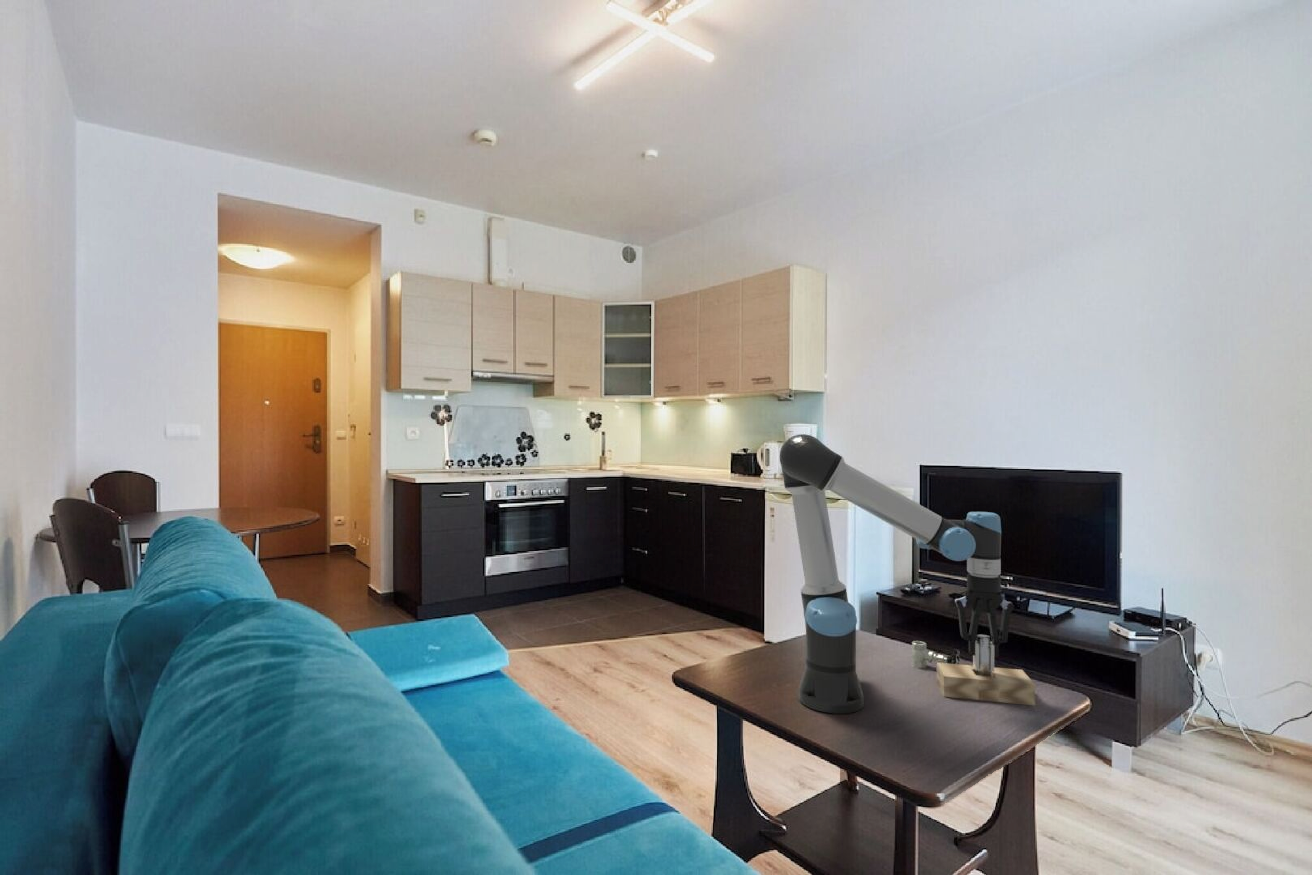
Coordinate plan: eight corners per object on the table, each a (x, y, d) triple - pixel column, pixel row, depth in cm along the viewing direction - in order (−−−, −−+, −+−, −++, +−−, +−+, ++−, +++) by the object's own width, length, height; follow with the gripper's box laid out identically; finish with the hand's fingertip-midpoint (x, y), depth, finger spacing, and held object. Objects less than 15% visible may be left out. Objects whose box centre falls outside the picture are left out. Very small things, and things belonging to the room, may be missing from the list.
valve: (908, 668, 175) (955, 677, 168) (908, 644, 175) (955, 652, 168) (914, 661, 181) (960, 670, 174) (914, 638, 181) (960, 646, 174)
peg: (978, 690, 157) (978, 637, 157) (975, 685, 160) (975, 634, 160) (991, 691, 156) (991, 638, 156) (988, 686, 159) (988, 635, 159)
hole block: (943, 696, 156) (943, 676, 156) (936, 681, 165) (936, 662, 165) (1035, 705, 151) (1035, 684, 151) (1022, 689, 160) (1022, 669, 160)
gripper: (952, 575, 156) (952, 671, 156) (1023, 579, 152) (1023, 677, 152) (946, 569, 164) (946, 660, 164) (1014, 573, 160) (1014, 666, 160)
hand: (983, 668), depth 158 cm, fingers closed on peg, 3 cm apart
